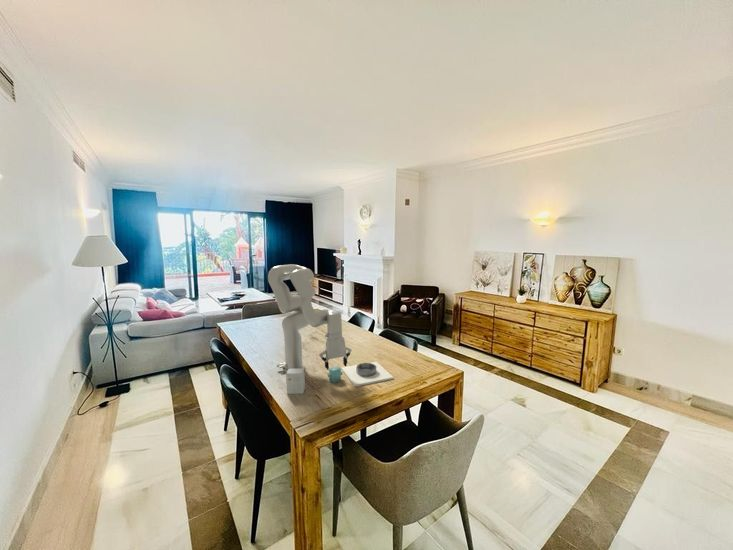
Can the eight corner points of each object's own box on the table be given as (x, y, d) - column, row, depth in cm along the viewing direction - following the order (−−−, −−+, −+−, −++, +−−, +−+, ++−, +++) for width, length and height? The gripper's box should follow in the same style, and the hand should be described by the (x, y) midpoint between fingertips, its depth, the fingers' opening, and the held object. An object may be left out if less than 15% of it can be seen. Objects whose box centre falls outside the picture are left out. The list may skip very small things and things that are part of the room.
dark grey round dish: (360, 378, 157) (360, 372, 157) (353, 369, 167) (353, 364, 167) (379, 374, 162) (379, 369, 161) (371, 366, 171) (371, 361, 171)
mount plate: (354, 386, 150) (354, 384, 150) (341, 369, 170) (341, 367, 170) (393, 378, 159) (393, 377, 159) (376, 363, 179) (376, 361, 179)
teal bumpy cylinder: (329, 383, 154) (329, 372, 153) (326, 378, 159) (326, 367, 158) (343, 381, 156) (343, 370, 156) (340, 376, 162) (339, 365, 161)
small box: (305, 388, 149) (304, 368, 148) (303, 393, 143) (302, 373, 142) (289, 388, 149) (288, 368, 147) (286, 394, 143) (285, 373, 142)
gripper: (320, 340, 148) (321, 373, 150) (353, 334, 154) (354, 366, 156) (316, 335, 155) (318, 367, 157) (348, 331, 161) (349, 361, 163)
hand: (336, 367), depth 156 cm, fingers open, 9 cm apart
